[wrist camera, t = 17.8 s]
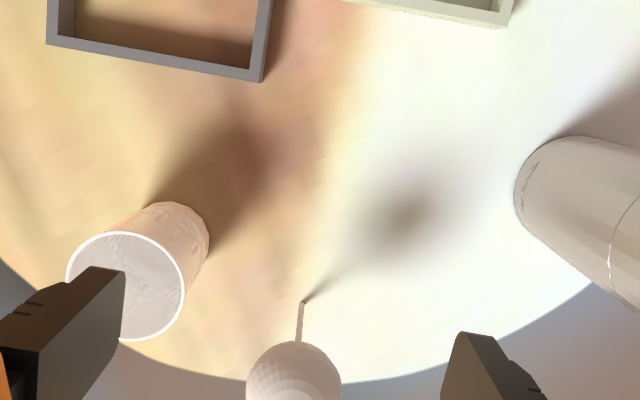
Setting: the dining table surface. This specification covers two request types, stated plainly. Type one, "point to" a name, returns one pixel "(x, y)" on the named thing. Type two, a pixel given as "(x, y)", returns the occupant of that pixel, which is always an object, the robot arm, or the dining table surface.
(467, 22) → the sage frame
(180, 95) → the dining table surface
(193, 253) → the white cup
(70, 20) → the gray frame
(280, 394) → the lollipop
